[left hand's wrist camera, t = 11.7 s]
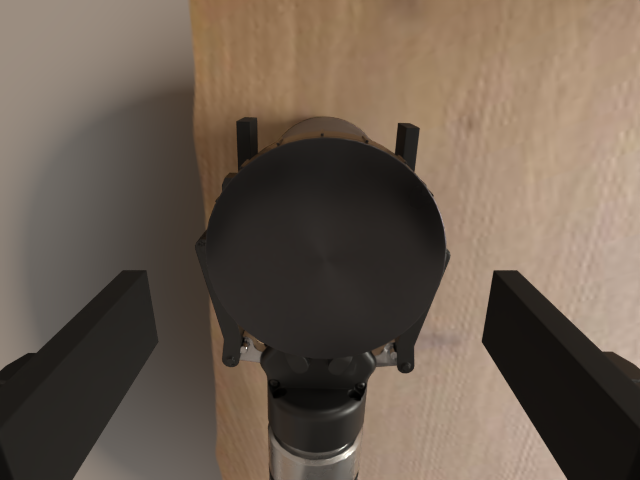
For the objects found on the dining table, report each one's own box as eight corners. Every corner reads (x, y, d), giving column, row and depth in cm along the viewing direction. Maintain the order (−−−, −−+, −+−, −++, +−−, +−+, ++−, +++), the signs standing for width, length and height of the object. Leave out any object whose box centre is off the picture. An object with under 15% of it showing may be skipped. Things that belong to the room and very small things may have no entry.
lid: (274, 84, 16) (267, 85, 14) (479, 199, 18) (498, 214, 16) (183, 279, 20) (167, 301, 18) (364, 362, 21) (368, 391, 19)
